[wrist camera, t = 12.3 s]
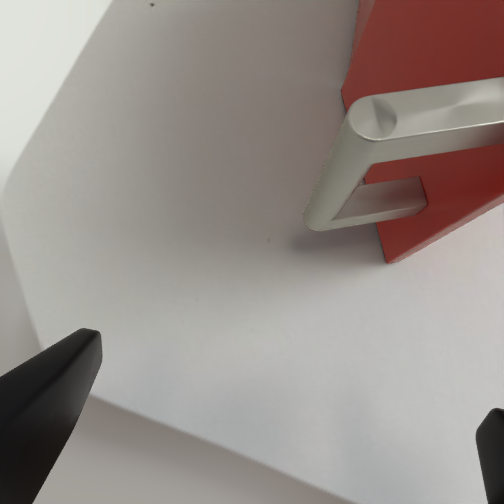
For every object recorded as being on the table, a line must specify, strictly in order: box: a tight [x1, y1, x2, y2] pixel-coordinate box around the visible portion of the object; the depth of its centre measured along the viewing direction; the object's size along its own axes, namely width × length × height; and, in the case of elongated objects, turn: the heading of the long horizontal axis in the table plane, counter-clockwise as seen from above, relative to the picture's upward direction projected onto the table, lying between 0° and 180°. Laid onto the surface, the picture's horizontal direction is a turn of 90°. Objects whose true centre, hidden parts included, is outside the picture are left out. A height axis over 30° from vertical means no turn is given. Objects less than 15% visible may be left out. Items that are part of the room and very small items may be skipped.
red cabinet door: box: [303, 0, 504, 263], centre depth 17 cm, size 6×12×13 cm, turn 10°
